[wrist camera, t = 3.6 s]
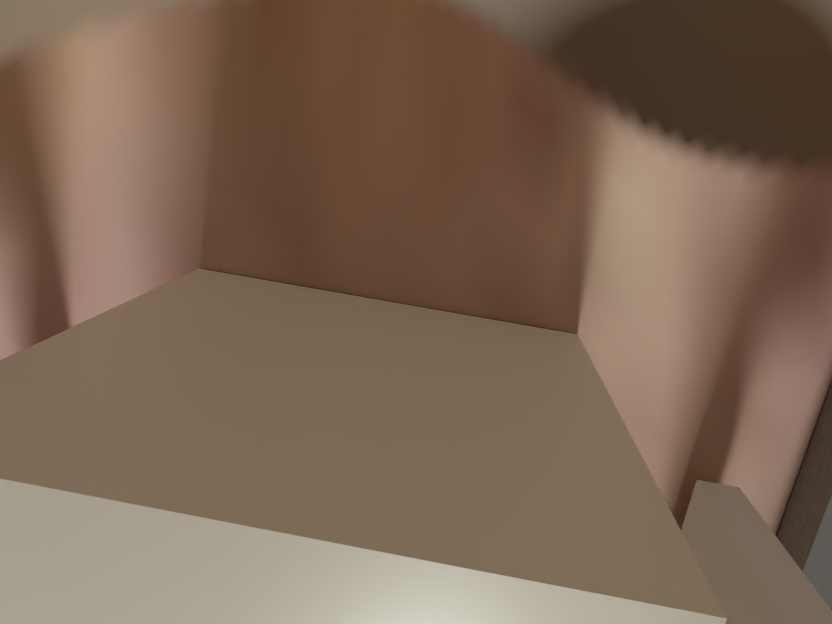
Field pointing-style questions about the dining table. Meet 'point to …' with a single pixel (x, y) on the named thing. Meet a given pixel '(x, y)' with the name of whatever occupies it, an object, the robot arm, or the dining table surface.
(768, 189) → the dining table surface
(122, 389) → the white box
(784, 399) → the dining table surface
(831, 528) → the panel
